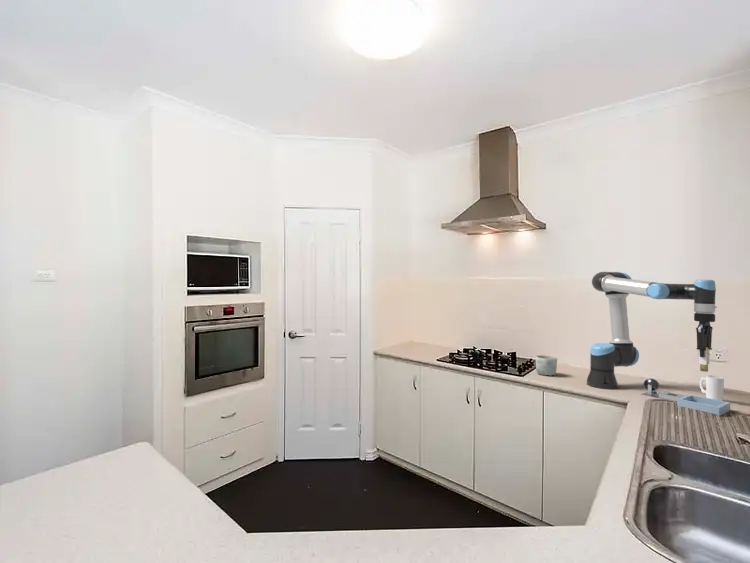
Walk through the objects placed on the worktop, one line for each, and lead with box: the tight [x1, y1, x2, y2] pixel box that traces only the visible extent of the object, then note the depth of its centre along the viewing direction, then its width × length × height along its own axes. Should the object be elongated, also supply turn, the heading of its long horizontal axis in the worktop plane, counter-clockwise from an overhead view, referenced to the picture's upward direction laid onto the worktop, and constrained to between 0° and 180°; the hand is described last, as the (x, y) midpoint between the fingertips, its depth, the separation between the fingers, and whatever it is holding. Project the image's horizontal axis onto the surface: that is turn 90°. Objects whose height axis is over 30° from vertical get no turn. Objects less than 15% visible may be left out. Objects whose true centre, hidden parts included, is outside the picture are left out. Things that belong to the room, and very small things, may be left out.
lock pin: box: [699, 347, 709, 373], centre depth 181 cm, size 3×3×11 cm
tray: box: [676, 394, 731, 417], centre depth 180 cm, size 15×15×4 cm
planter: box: [535, 355, 558, 377], centre depth 246 cm, size 12×12×11 cm
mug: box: [699, 374, 725, 401], centre depth 195 cm, size 10×7×12 cm, turn 19°
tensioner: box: [640, 378, 687, 403], centre depth 197 cm, size 17×10×8 cm, turn 34°
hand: (704, 363), depth 181 cm, fingers closed on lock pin, 3 cm apart
